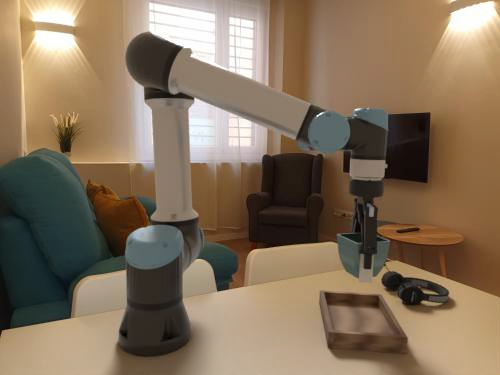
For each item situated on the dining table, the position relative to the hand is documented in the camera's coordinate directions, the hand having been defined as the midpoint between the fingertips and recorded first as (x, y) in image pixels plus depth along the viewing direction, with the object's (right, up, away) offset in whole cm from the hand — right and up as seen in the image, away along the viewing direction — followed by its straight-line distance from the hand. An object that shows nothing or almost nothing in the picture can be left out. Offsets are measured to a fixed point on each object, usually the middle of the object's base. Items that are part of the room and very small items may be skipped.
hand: (360, 273), depth 87 cm
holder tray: (0, -13, +2) cm, 13 cm away
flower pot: (0, 0, 0) cm, 0 cm away
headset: (+21, -11, +20) cm, 31 cm away
